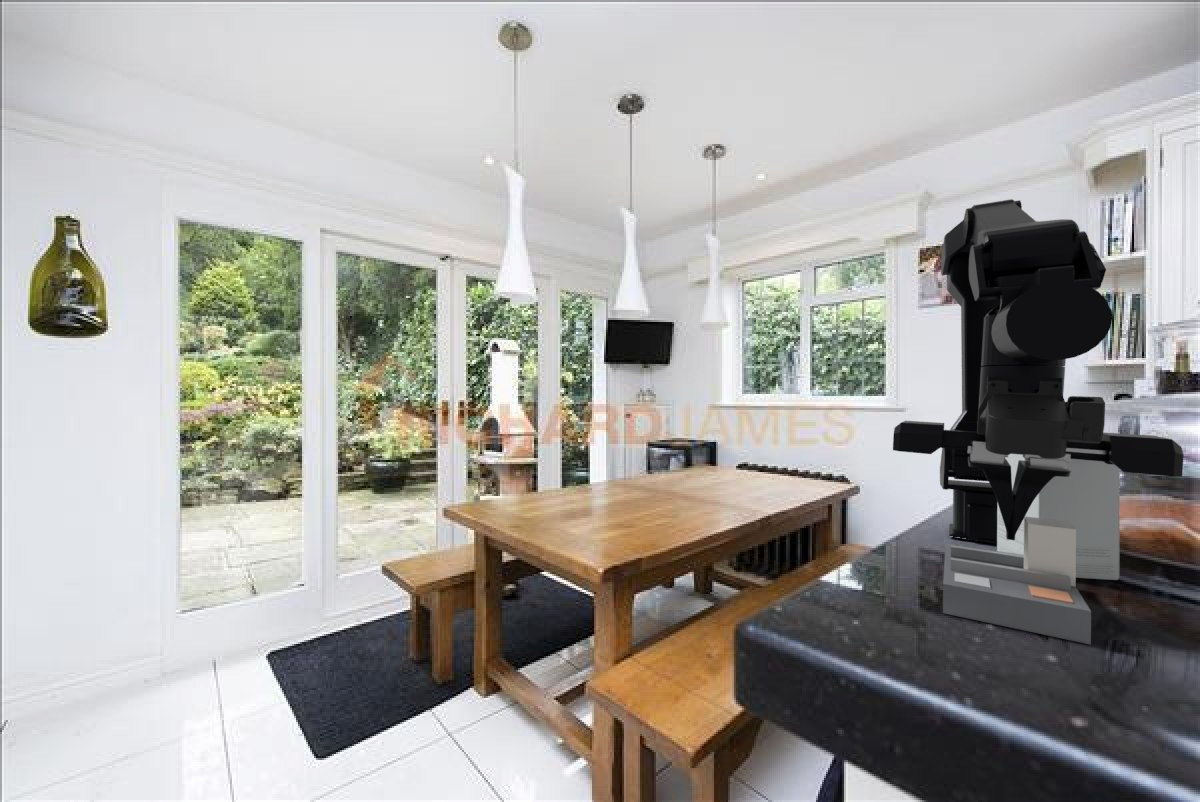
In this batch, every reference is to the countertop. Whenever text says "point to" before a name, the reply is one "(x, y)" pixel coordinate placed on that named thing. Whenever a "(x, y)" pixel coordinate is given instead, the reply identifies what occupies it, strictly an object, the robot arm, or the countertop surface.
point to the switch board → (1012, 594)
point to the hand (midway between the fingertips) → (1010, 539)
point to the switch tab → (1050, 547)
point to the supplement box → (1077, 514)
